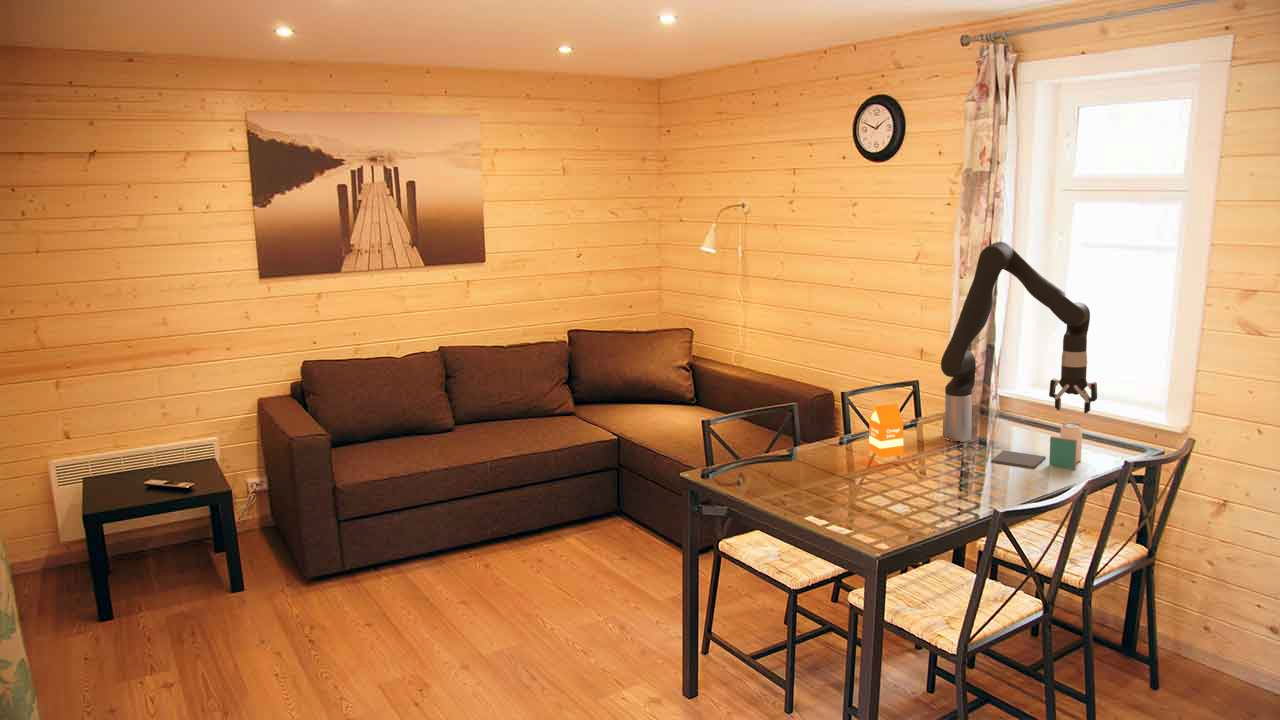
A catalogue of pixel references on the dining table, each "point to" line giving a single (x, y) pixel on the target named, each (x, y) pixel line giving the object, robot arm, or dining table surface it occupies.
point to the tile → (1063, 452)
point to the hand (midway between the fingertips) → (1072, 411)
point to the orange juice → (886, 431)
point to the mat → (1019, 459)
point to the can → (1073, 435)
